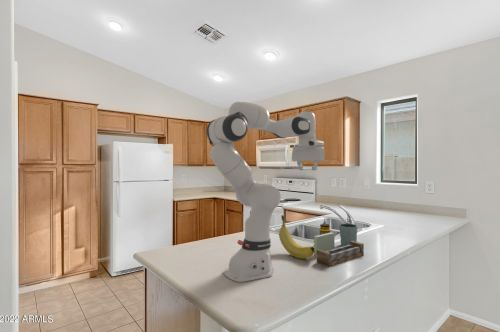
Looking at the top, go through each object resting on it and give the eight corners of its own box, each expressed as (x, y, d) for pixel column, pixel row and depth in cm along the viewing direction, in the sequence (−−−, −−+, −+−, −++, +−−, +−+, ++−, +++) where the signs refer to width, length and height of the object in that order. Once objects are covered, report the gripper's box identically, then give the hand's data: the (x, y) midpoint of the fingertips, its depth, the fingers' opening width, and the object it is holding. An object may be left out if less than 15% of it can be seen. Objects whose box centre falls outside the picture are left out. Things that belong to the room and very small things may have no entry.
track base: (328, 266, 125) (328, 253, 125) (316, 262, 131) (316, 250, 131) (363, 255, 141) (363, 243, 141) (351, 251, 147) (351, 240, 147)
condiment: (323, 246, 156) (322, 226, 156) (315, 242, 164) (315, 223, 164) (333, 245, 158) (333, 225, 158) (325, 241, 166) (325, 222, 166)
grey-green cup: (354, 249, 151) (354, 227, 151) (336, 246, 157) (336, 225, 157) (359, 245, 159) (359, 224, 159) (342, 242, 165) (342, 222, 165)
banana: (317, 261, 133) (317, 220, 133) (310, 263, 129) (309, 222, 129) (284, 250, 150) (284, 214, 150) (276, 252, 147) (276, 215, 147)
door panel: (317, 256, 140) (316, 237, 140) (314, 255, 141) (313, 236, 141) (334, 251, 148) (334, 233, 148) (331, 250, 149) (331, 232, 149)
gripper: (288, 144, 147) (289, 170, 147) (318, 141, 130) (318, 170, 130) (297, 144, 150) (297, 169, 150) (326, 142, 133) (327, 170, 133)
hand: (307, 170), depth 140 cm, fingers open, 8 cm apart
